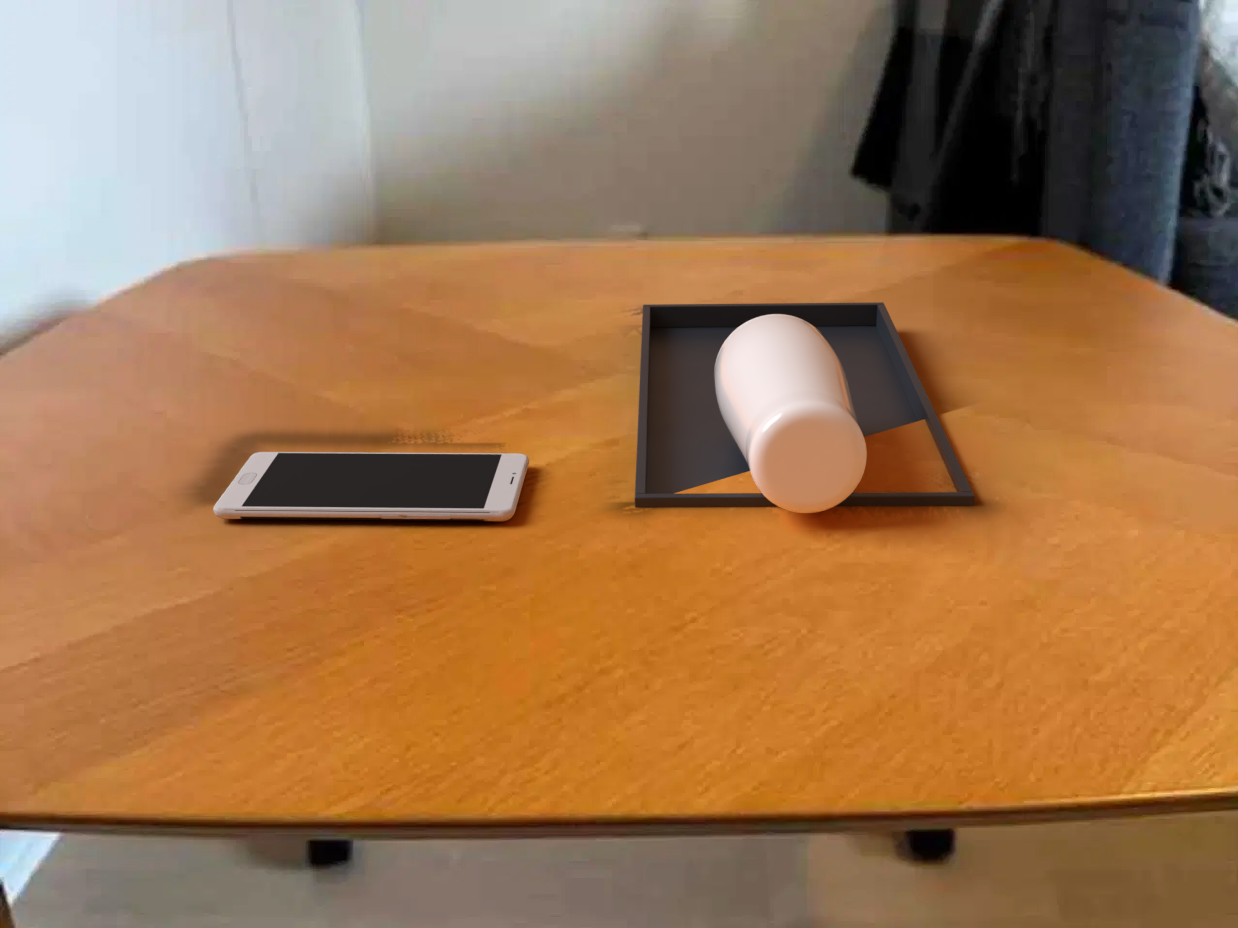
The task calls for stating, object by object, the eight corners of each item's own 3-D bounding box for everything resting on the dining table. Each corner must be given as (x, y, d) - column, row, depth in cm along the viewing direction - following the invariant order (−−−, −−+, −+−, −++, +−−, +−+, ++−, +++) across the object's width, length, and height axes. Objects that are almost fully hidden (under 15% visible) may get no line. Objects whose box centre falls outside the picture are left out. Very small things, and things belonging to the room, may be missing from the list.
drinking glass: (745, 543, 67) (721, 440, 81) (892, 520, 66) (843, 421, 81) (724, 402, 65) (704, 322, 79) (877, 378, 64) (829, 302, 78)
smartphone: (252, 450, 79) (530, 452, 78) (254, 461, 79) (530, 463, 78) (209, 509, 72) (513, 512, 71) (210, 521, 72) (513, 524, 71)
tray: (971, 534, 70) (974, 495, 69) (635, 535, 70) (634, 497, 69) (882, 330, 98) (883, 302, 97) (643, 332, 99) (642, 304, 98)
